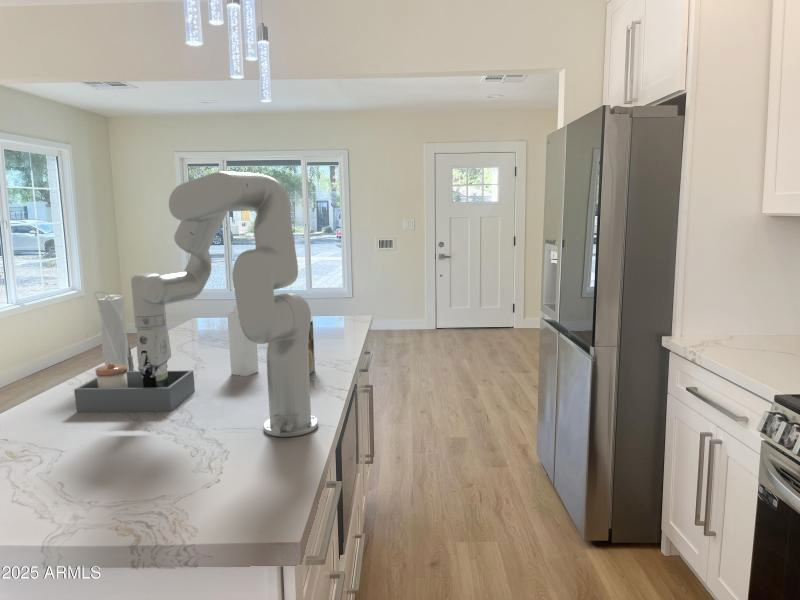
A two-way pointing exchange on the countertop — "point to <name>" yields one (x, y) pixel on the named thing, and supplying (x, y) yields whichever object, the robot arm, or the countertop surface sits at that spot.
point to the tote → (135, 394)
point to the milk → (241, 348)
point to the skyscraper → (114, 331)
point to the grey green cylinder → (161, 375)
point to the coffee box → (311, 349)
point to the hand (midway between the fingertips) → (156, 387)
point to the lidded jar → (112, 376)
